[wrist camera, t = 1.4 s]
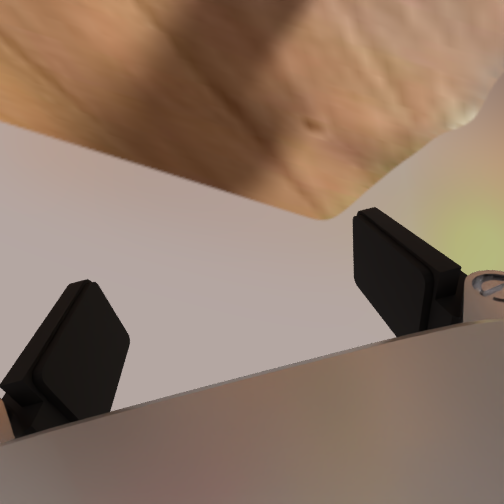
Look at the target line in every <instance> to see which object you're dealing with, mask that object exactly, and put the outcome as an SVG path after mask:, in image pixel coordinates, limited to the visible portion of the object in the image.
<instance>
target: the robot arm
mask: <svg viewBox="0 0 504 504" xmlns="http://www.w3.org/2000/svg"><path fill="white" fill-rule="evenodd" d="M353 257H354V279H355V283H356V284H357V286H358V287H359V289H360V290H361V291H362V293H363V294H364V295H365V296H366V298H367V299H368V300H369V302H370V303H371V304H372V306H373V307H374V308H375V309H376V311H377V312H378V313H379V315H380V316H381V317H382V319H383V320H384V321H385V322H386V324H387V325H388V326H389V328H390V329H391V330H392V331H393V333H394V334H395V335H396V338H392V339H388V340H384V341H380V342H375V343H371V344H367V345H364V346H360V347H356V348H352V349H348V350H344V351H340V352H336V353H332V354H328V355H325V356H321V357H317V358H313V359H309V360H305V361H301V362H297V363H293V364H289V365H286V366H282V367H278V368H274V369H270V370H266V371H262V372H259V373H255V374H251V375H248V376H244V377H239V378H236V379H232V380H228V381H225V382H220V383H217V384H213V385H209V386H205V387H201V388H198V389H194V390H190V391H186V392H183V393H179V394H175V395H171V396H167V397H164V398H160V399H156V400H153V401H149V402H145V403H141V404H138V405H134V406H130V407H127V408H123V409H119V410H115V411H111V412H110V410H111V407H112V403H113V400H114V397H115V393H116V390H117V386H118V383H119V379H120V376H121V372H122V369H123V366H124V362H125V359H126V355H127V352H128V348H129V344H130V338H129V335H128V333H127V331H126V330H125V328H124V326H123V325H122V323H121V321H120V320H119V318H118V317H117V315H116V313H115V312H114V310H113V308H112V307H111V305H110V304H109V302H108V300H107V299H106V297H105V295H104V294H103V292H102V290H101V289H100V287H99V285H98V284H97V283H96V282H91V281H90V280H88V279H87V280H83V281H79V282H75V283H71V284H69V285H68V286H67V288H66V289H65V291H64V292H63V294H62V295H61V297H60V298H59V300H58V301H57V302H56V304H55V305H54V307H53V308H52V310H51V311H50V313H49V314H48V316H47V317H46V318H45V320H44V321H43V323H42V324H41V326H40V327H39V329H38V330H37V331H36V333H35V334H34V336H33V337H32V339H31V340H30V342H29V343H28V345H27V346H26V347H25V349H24V351H23V352H22V353H21V355H20V356H19V358H18V359H17V361H16V362H15V364H14V365H13V366H12V368H11V369H10V371H9V372H8V374H7V375H6V377H5V378H4V379H3V381H2V382H1V384H0V388H1V389H3V390H4V391H5V392H6V393H5V395H4V397H3V398H2V399H1V398H0V504H504V272H502V271H495V270H485V271H477V272H474V273H471V274H470V275H468V276H467V275H466V274H465V273H463V272H462V271H461V266H459V265H458V264H457V263H455V262H454V261H452V260H451V259H449V258H448V257H447V256H445V255H444V254H442V253H441V252H439V251H438V250H436V249H435V248H434V247H432V246H431V245H429V244H428V243H426V242H425V241H423V240H422V239H420V238H419V237H418V236H416V235H415V234H413V233H412V232H411V231H409V230H408V229H406V228H405V227H403V226H402V225H400V224H399V223H397V222H396V221H395V220H393V219H392V218H390V217H389V216H388V215H386V214H384V213H383V212H382V211H380V210H379V209H377V208H376V207H374V208H370V209H365V210H362V211H358V213H357V216H354V217H353Z"/></svg>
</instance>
